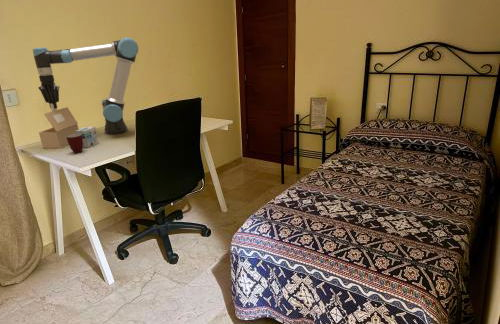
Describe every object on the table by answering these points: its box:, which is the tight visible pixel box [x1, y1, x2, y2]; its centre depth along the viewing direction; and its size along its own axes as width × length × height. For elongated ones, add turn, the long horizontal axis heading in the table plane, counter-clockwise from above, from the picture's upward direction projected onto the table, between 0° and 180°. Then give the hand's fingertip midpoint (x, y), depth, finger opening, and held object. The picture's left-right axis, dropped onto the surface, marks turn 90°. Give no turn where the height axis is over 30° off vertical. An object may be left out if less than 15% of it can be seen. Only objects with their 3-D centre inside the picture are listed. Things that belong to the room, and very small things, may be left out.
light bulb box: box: [76, 126, 99, 149], centre depth 212 cm, size 11×7×11 cm, turn 168°
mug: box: [67, 134, 83, 154], centre depth 201 cm, size 10×8×10 cm
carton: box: [38, 124, 79, 149], centre depth 219 cm, size 12×20×10 cm, turn 170°
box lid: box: [43, 106, 78, 132], centre depth 214 cm, size 12×20×1 cm
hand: (55, 113), depth 214 cm, fingers closed
